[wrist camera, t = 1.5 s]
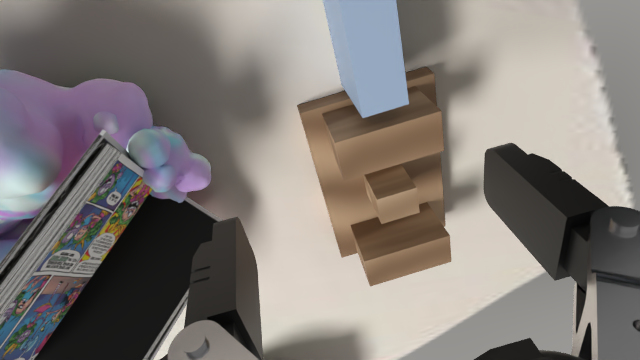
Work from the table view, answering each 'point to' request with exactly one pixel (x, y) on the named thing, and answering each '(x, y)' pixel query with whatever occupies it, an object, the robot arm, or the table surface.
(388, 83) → the frame bar
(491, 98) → the table surface
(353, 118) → the stand
